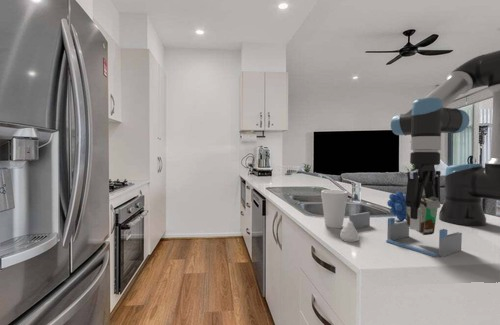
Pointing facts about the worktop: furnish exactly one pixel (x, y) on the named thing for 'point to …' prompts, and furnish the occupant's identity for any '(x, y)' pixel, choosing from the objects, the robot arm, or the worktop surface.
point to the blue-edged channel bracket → (401, 230)
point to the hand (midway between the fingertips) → (422, 227)
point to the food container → (426, 214)
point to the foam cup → (334, 207)
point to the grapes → (398, 205)
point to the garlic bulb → (349, 233)
